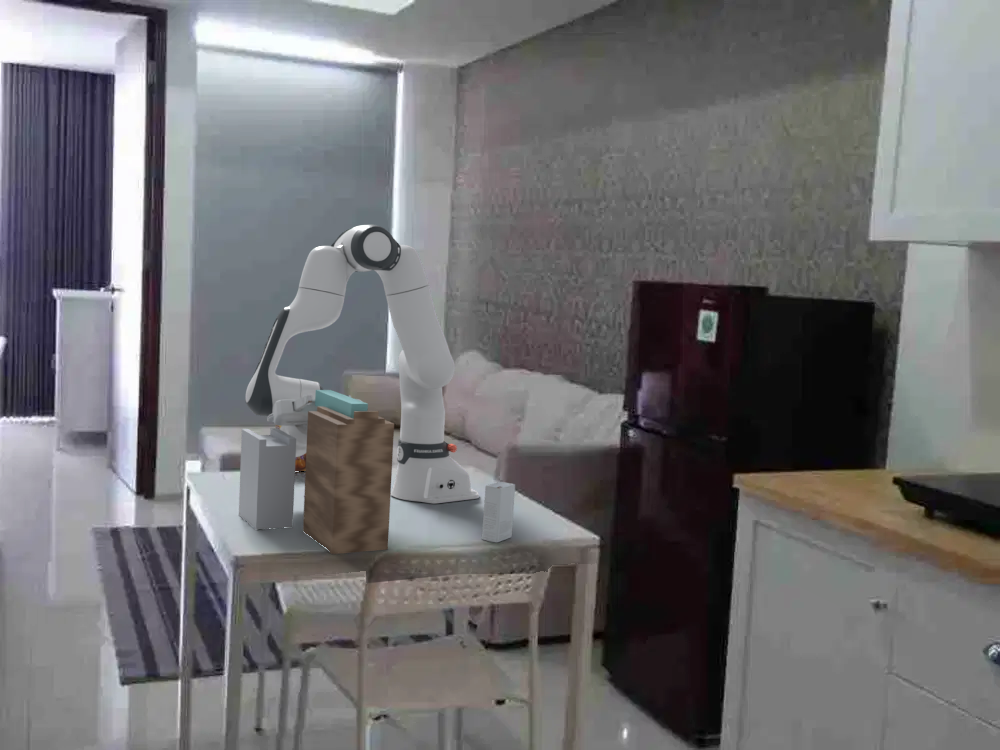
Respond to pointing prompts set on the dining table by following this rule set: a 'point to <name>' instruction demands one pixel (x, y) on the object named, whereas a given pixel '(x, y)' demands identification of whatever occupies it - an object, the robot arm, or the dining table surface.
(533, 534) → the dining table surface
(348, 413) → the rail
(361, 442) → the notched wooden block
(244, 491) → the rest block
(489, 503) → the skincare box
